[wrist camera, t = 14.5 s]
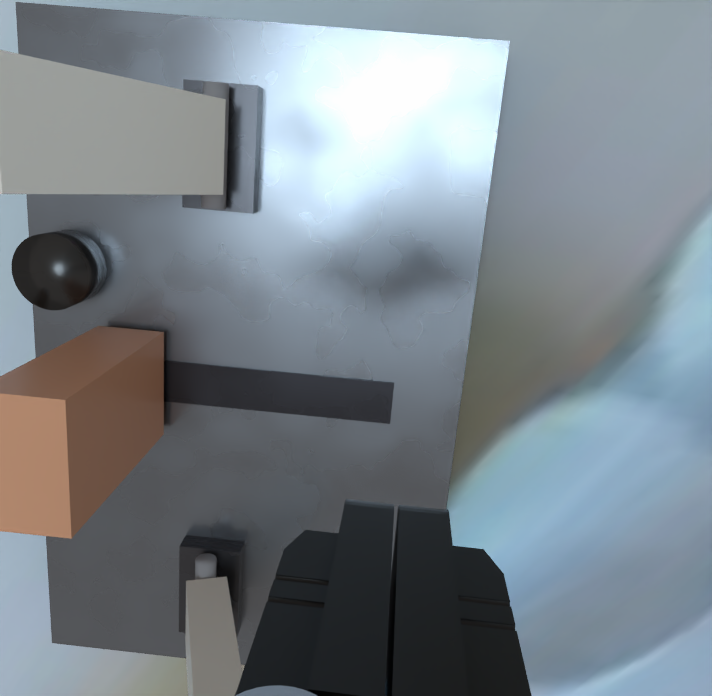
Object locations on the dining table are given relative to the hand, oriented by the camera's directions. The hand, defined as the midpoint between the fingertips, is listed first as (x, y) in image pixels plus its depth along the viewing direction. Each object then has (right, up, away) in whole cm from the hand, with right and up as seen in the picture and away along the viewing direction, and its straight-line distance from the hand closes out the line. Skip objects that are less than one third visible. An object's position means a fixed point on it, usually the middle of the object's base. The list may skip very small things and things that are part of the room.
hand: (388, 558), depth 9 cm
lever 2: (-6, -7, +15) cm, 18 cm away
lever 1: (-5, +9, +11) cm, 15 cm away
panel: (-4, +2, +17) cm, 18 cm away
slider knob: (-9, +2, +14) cm, 17 cm away
